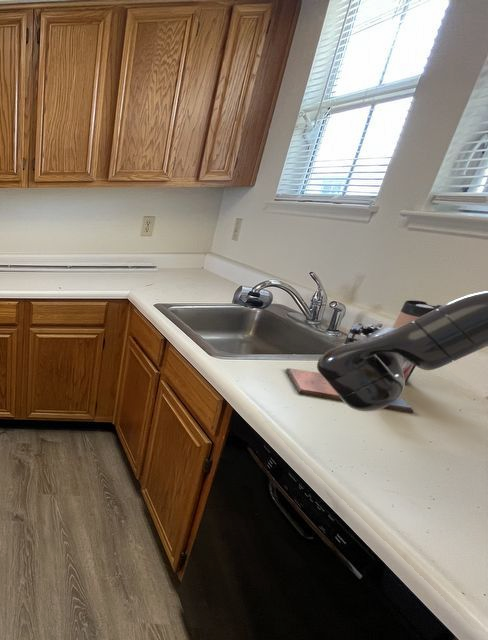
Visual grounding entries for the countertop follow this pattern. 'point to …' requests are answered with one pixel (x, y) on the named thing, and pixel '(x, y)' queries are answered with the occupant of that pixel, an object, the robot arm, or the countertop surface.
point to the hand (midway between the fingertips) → (405, 334)
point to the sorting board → (329, 388)
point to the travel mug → (412, 315)
